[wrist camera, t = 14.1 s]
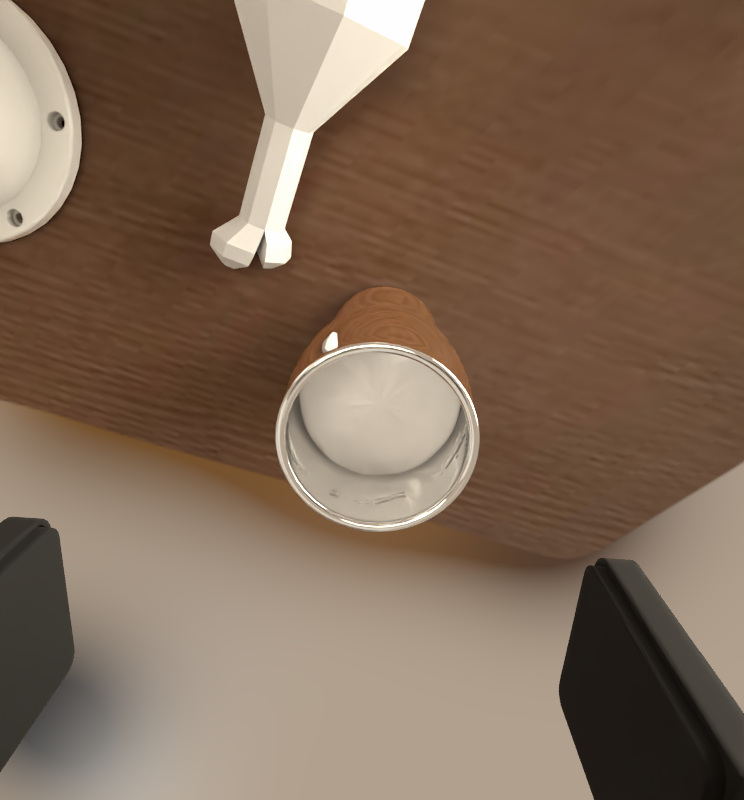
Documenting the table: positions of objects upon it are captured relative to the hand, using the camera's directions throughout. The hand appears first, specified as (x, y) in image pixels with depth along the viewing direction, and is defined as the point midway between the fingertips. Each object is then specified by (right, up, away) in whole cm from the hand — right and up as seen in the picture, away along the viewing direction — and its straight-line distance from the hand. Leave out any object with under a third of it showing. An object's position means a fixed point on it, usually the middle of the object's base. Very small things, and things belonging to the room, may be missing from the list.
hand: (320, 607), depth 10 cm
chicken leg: (-2, +19, +18) cm, 26 cm away
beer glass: (+2, +7, +22) cm, 23 cm away
